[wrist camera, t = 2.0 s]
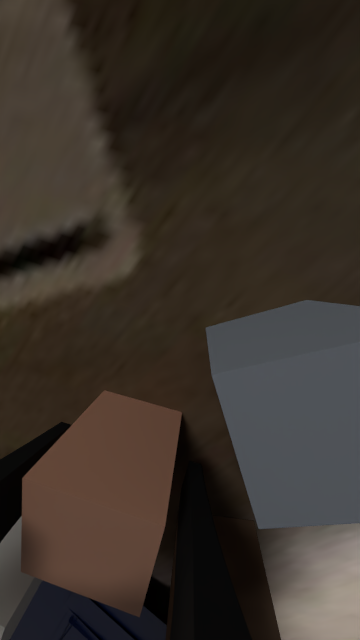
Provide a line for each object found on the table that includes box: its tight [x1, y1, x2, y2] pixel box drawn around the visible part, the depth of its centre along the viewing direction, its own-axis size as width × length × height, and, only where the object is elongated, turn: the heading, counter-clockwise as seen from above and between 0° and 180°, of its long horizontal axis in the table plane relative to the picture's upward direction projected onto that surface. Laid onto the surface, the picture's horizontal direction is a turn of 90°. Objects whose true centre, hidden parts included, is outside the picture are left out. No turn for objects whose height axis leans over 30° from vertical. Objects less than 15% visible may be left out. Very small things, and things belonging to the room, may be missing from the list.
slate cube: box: [206, 300, 360, 529], centre depth 6 cm, size 5×5×5 cm
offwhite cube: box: [0, 516, 42, 640], centre depth 10 cm, size 5×5×5 cm
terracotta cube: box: [21, 390, 182, 617], centre depth 8 cm, size 5×5×5 cm
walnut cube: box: [165, 511, 281, 640], centre depth 9 cm, size 5×5×5 cm
